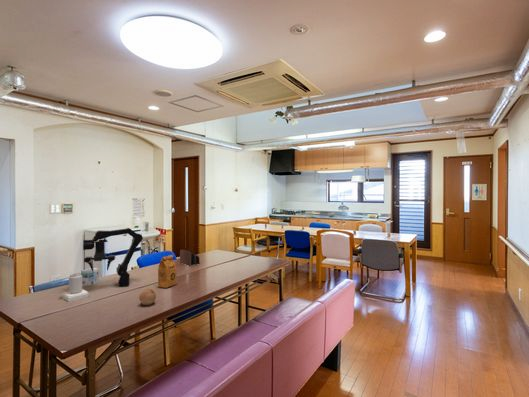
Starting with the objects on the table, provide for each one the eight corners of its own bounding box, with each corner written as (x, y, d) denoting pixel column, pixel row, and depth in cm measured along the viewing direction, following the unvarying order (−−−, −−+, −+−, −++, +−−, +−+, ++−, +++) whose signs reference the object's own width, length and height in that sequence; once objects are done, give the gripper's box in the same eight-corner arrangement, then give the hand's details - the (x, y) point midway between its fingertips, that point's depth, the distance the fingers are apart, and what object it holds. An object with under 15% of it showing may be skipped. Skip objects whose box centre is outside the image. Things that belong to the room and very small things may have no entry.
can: (78, 289, 199) (78, 272, 199) (84, 291, 195) (84, 273, 195) (66, 293, 192) (66, 274, 192) (72, 295, 189) (72, 276, 189)
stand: (82, 292, 202) (82, 288, 202) (89, 296, 195) (89, 292, 195) (61, 297, 193) (61, 292, 193) (68, 301, 185) (68, 296, 185)
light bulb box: (88, 286, 218) (88, 271, 218) (80, 285, 219) (80, 270, 219) (99, 281, 228) (99, 267, 228) (91, 281, 230) (91, 267, 230)
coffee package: (179, 284, 220) (178, 254, 220) (166, 289, 209) (166, 258, 209) (168, 283, 224) (168, 253, 224) (156, 287, 213) (155, 256, 213)
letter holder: (190, 266, 277) (190, 251, 277) (179, 263, 291) (179, 248, 291) (199, 264, 284) (199, 250, 284) (188, 261, 298) (188, 247, 298)
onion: (154, 307, 183) (161, 292, 184) (145, 309, 174) (153, 292, 176) (142, 300, 186) (150, 285, 187) (132, 301, 177) (141, 285, 178)
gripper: (81, 251, 199) (82, 274, 199) (112, 249, 205) (113, 272, 205) (85, 248, 210) (86, 270, 210) (115, 247, 216) (115, 268, 216)
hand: (100, 270), depth 210 cm, fingers open, 9 cm apart
